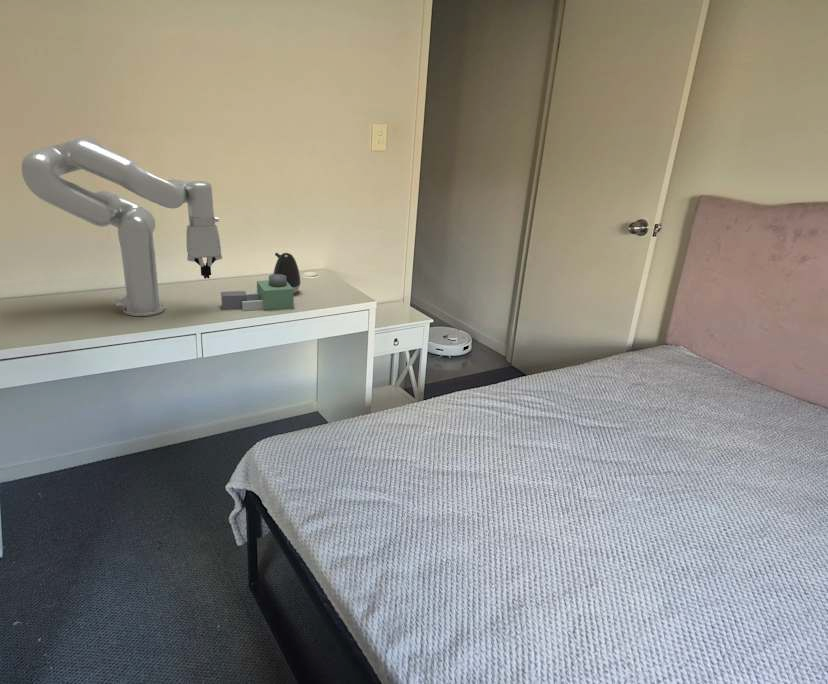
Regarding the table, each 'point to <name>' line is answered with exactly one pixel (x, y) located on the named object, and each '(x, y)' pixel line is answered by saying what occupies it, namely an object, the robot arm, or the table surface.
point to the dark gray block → (232, 300)
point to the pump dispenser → (288, 269)
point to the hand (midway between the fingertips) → (206, 277)
